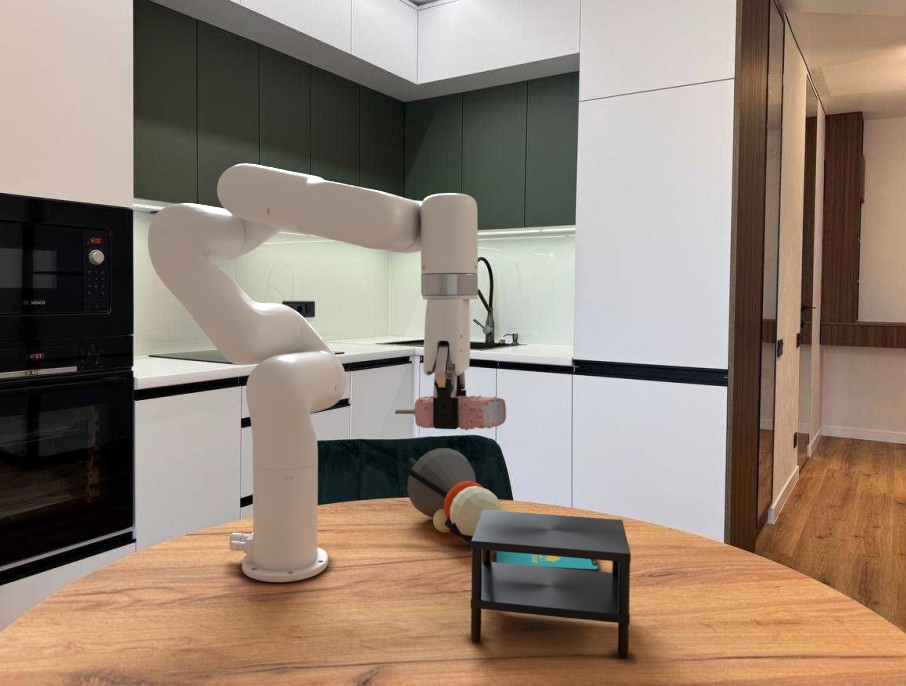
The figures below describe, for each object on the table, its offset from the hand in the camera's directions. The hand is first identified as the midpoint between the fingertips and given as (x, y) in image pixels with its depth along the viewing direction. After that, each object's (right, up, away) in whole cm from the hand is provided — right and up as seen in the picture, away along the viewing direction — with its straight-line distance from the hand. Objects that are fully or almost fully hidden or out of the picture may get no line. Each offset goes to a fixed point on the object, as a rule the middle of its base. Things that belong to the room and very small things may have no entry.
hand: (450, 422), depth 92 cm
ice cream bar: (0, -1, 0) cm, 1 cm away
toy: (+1, -23, +30) cm, 38 cm away
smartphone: (+15, -24, +13) cm, 31 cm away
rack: (+12, -24, -6) cm, 28 cm away
